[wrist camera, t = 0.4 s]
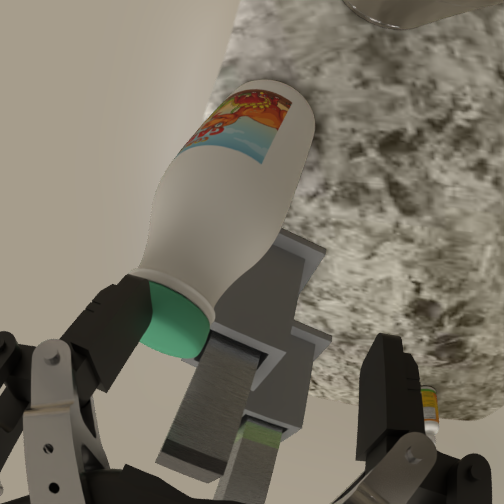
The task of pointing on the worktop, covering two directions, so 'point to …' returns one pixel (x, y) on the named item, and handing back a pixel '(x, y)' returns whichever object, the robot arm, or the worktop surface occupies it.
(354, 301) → the worktop surface
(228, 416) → the column
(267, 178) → the milk bottle
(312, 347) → the stand
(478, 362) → the worktop surface
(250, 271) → the stand
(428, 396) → the supplement bottle
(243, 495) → the column
